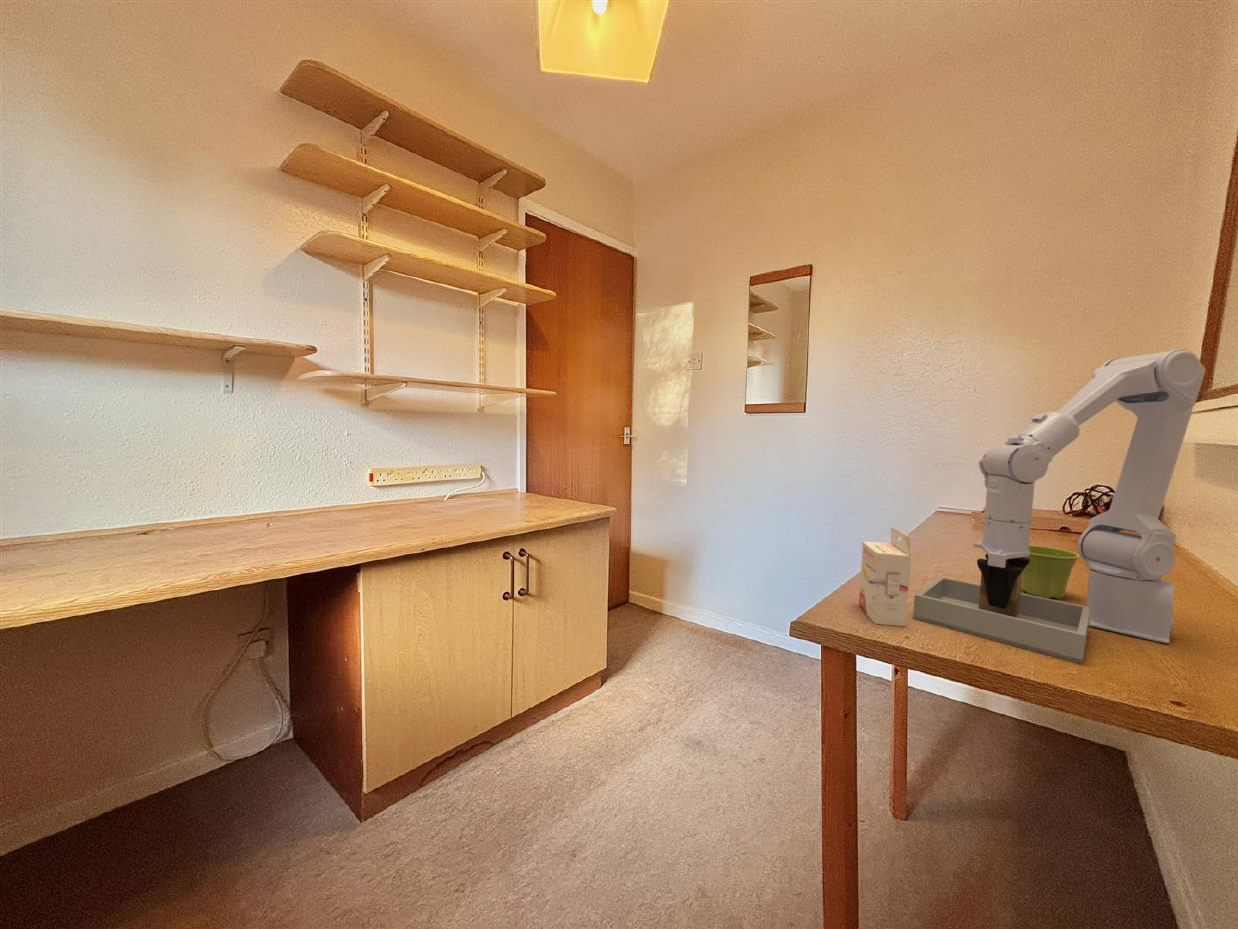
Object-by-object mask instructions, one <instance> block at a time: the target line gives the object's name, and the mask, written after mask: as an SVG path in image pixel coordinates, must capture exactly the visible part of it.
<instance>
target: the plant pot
mask: <svg viewBox="0 0 1238 929" xmlns="http://www.w3.org/2000/svg"><path fill="white" fill-rule="evenodd" d="M1029 550H1030V555H1029V556H1026V557H1025V558H1029V559H1030V562H1029V564H1028V565H1027V566H1026V567H1025V568H1024V570H1023V572H1022V580H1021V590H1022V592H1026V594H1028V595H1032V596H1034V595H1035V596H1037V597H1042V598H1047V599H1051V598H1055V599H1058V600H1060V599H1063V598H1064V597H1065V593H1066V590H1067V586H1068V582H1069V579H1070V575H1071V574H1072V569H1073V567H1074V566H1075V565H1076V563H1077V560H1079V559H1080V557H1081V556H1080V554H1079V553H1077V552H1073V551H1070V550H1065V549H1062V548H1061V549H1060V548H1054V547H1048V546H1043V545H1042V546H1041V545H1033V544H1029Z"/></svg>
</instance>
